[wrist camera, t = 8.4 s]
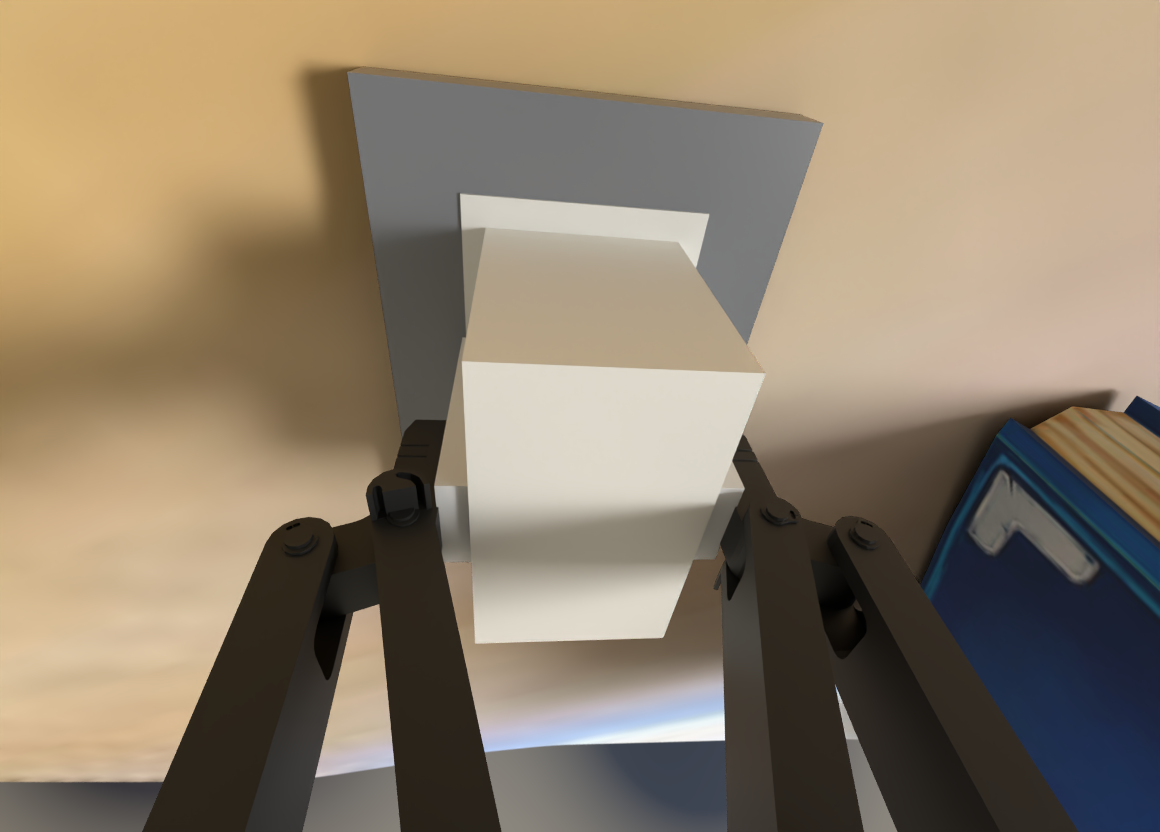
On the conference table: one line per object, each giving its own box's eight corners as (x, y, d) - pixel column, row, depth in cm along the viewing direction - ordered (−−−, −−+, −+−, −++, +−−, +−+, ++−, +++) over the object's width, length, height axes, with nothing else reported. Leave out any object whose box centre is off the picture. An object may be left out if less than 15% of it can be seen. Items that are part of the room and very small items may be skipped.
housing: (485, 227, 14) (461, 361, 9) (678, 241, 15) (765, 373, 10) (488, 472, 20) (475, 643, 15) (627, 474, 21) (663, 637, 15)
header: (363, 66, 13) (293, 89, 9) (799, 114, 15) (899, 151, 11) (420, 494, 23) (398, 593, 19) (678, 496, 24) (707, 588, 21)
